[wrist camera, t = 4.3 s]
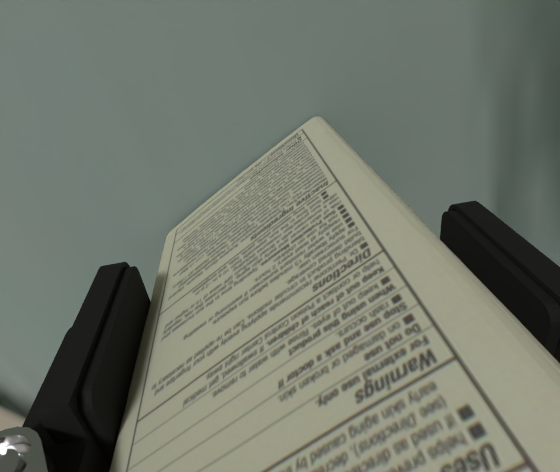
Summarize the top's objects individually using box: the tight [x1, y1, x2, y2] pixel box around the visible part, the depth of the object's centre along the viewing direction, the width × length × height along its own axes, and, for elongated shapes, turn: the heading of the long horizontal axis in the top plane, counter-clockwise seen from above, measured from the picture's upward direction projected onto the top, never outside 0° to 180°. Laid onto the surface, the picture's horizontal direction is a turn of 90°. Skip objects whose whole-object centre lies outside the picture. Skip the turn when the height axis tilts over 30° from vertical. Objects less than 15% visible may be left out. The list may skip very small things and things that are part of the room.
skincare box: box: [109, 117, 560, 472], centre depth 8 cm, size 6×4×12 cm
